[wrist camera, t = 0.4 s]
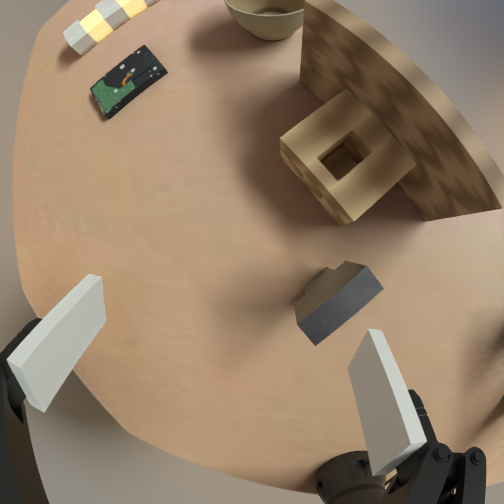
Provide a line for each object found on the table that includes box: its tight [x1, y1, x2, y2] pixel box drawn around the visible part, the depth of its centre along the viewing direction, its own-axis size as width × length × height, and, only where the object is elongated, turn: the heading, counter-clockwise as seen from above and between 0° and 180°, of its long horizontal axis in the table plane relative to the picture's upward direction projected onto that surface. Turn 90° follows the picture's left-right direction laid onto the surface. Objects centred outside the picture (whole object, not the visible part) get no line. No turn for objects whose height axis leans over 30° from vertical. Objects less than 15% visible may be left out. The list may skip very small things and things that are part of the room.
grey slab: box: [294, 261, 384, 346], centre depth 35 cm, size 3×9×16 cm, turn 130°
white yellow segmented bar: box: [63, 0, 158, 55], centre depth 40 cm, size 25×10×13 cm, turn 124°
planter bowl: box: [224, 0, 304, 40], centre depth 37 cm, size 16×16×11 cm
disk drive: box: [90, 45, 168, 119], centre depth 45 cm, size 10×3×15 cm
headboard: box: [280, 0, 504, 226], centre depth 32 cm, size 32×16×20 cm, turn 40°
